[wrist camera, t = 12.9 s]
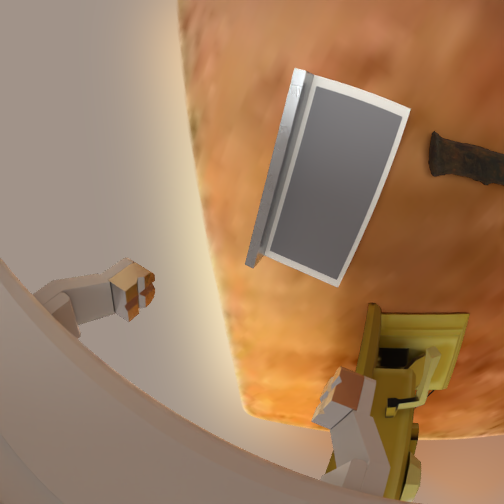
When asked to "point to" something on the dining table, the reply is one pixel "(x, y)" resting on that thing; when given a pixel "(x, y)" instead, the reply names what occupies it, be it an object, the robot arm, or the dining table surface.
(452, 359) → the vintage telephone
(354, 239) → the grey open box
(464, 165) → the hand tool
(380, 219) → the dining table surface
